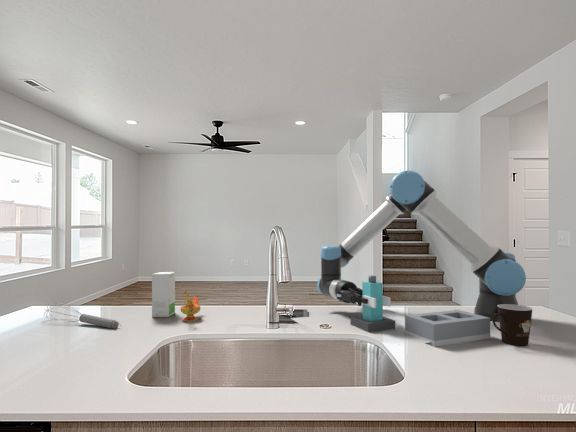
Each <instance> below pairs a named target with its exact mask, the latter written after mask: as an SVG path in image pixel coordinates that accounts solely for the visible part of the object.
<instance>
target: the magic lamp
mask: <svg viewBox="0 0 576 432" xmlns="http://www.w3.org/2000/svg"><path fill="white" fill-rule="evenodd" d="M183 293H184V295H185V298H184V305H183V306H180V312H181V313H182V314H184V315H185V316H186V317H185V318H182V321H185V322H192V321H193V322H194V321H197V320H199V318H198V317H196V316H195V315H196V314H198V313H199V312H200V310H201V305H199V304H200V303H199V301H200V299H199V298H200V295H199V294H196V295H194V297H193V298H192V299H191V298H189V297H190V294H189V291H188V290H185V291H184V292H183Z"/></svg>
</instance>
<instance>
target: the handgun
mask: <svg viewBox="0 0 576 432" xmlns="http://www.w3.org/2000/svg"><path fill="white" fill-rule="evenodd" d="M293 309H294V311H293V316H292V317H290V316H289V315H288V314H287V315H279V322H280V323H279V324H298V322H297V321H296V320H294V319H297V318H308V315H309V313H308V309H306V308H304V309H303V308H302V309H300V308H293Z"/></svg>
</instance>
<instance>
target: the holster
mask: <svg viewBox="0 0 576 432" xmlns="http://www.w3.org/2000/svg"><path fill="white" fill-rule="evenodd" d="M350 325H351V326H352V327H353V326H354V327H355V328H358V329H360V330H362V331H364V332H366V333H372V332H373V333H374V332H375V333H376V332H381V331H390V330H391V331H392V330H396V320H394V319H391V318H389V317H386V316H383V320H381V321H371V322H369V321H367V320H364V319H363V314H362V315H354V316H350Z"/></svg>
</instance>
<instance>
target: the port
mask: <svg viewBox="0 0 576 432" xmlns="http://www.w3.org/2000/svg"><path fill="white" fill-rule="evenodd" d="M404 328H405V329H404V332H405V334H410V335H411V336H414V337H416V338H419V339H422V340H424V341H427V342H425V344H426V345H429V346H431V347H433V348H434V347H440V346H449V345H453V344H454V345H456V344H462V343H469V342H470V343H471V342H476V341H484V340H489V339H491V320H490V318H488V317H484V316H481V315H477V314H474V312H473V313H472V312H468V311H466V310H465V311H464V310H461V309H454V310H453V309H452V310H444V311H442V310H441V311H435V312H424V313H414V314H405V315H404Z"/></svg>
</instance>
